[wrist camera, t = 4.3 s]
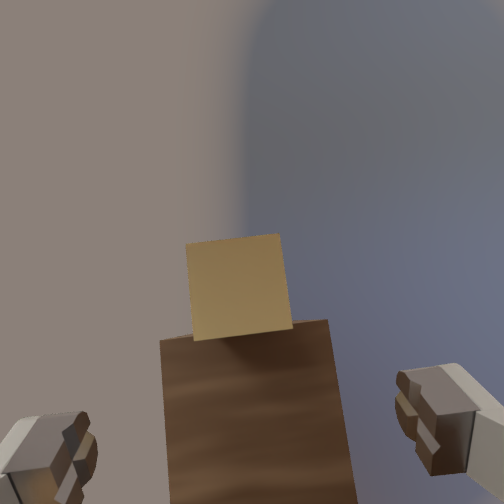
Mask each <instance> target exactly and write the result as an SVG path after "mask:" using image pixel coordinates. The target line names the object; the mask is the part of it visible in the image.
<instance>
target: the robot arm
mask: <svg viewBox="0 0 504 504" xmlns="http://www.w3.org/2000/svg"><path fill="white" fill-rule="evenodd" d="M396 384H397V386H398V387H399V389H400V390H401V391H400V392H399V394H398V395H397V396H396V398H395V409H396V414H397V419H398V421H399V424H400V426H401V428H402V430H403V432H404V433H405V435H406V436H407V437H409V438H410V439H412V440H413V441H415V442H416V450H415V451H416V453H417V455H418V456H419V458H420V460H421V461H422V463H423V465H424V466H425V468H426V469H427V471H428V473H429V474H430V476H437V475H446V474H456V473H466V472H467V475H468V476H469V477H470V478H472V479H473V480H474V481H476V482H477V483H478V484H480V485H481V486H482V487H484V488H485V489H486V490H488V491H489V492H490V493H492V494H493V495H494V496H496V497H497V498H498V499H500V500H501V501H502V502H504V407H503V406H502V405H501V404H500V403H499V402H498V401H497V400H496V399H495V398H493V396H491V395H490V393H488V392H487V391H486V390H485V389H484V388H483V387H482V386H481V385H480V384H479V383H478V382H477V381H476V380H475V379H474V378H473V377H471V375H470V374H469V373H468V372H466V371H465V369H463V368H462V367H461V366H460V365H458V364H456V363H451V364H444V365H438V366H433V367H425V368H418V369H411V370H403V371H399V372H398V374H397V378H396ZM89 425H90V420H89V418H88V415H87V413H86V412H83V411H79V412H70V413H60V414H50V415H43V416H34V417H24V418H22V419H20V420H19V421H17V422H16V423H15V425H14V426H13V428H12V429H11V430H10V431H9V433H8V434H7V436H6V437H5V438H4V440H3V441H2V442H1V444H0V504H82V501H83V499H84V494H83V491H82V487H83V486H84V485H85V484H86V483H87V482H88V481H89V480H90V479H91V478H92V476H93V473H94V470H95V467H96V462H97V456H98V451H97V443H96V439H95V436H93V435H92V434H91V433H89V432H88V431H87V429H88V427H89Z"/></svg>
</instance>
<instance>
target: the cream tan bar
mask: <svg viewBox="0 0 504 504" xmlns="http://www.w3.org/2000/svg"><path fill="white" fill-rule="evenodd" d="M186 255H187V267H188V279H189V290H190V301H191V314H192V324H193V337H194V341H199V340H207V339H215V338H223V337H231V336H239V335H247V334H255V333H263V332H270V331H278V330H286V329H293V325H292V318H291V312H290V304H289V297H288V291H287V284H286V276H285V269H284V263H283V255H282V248H281V241H280V234H279V233H277V234H268V235H259V236H251V237H242V238H233V239H225V240H216V241H207V242H199V243H190V244H186Z"/></svg>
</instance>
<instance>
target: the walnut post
mask: <svg viewBox="0 0 504 504" xmlns="http://www.w3.org/2000/svg"><path fill="white" fill-rule="evenodd" d="M292 325H293V329H286V330H278V331H270V332H263V333H255V334H247V335H239V336H231V337H223V338H215V339H207V340H199V341H194V337H193V334H189V335H184V336H179V337H175V338H170V339H165V340H160V355H161V370H162V385H163V400H164V415H165V429H166V445H167V460H168V475H169V491H170V504H358V502H357V495H356V489H355V483H354V478H353V471H352V466H351V460H350V453H349V447H348V441H347V434H346V428H345V422H344V416H343V410H342V404H341V398H340V392H339V386H338V379H337V374H336V367H335V361H334V355H333V349H332V343H331V337H330V331H329V325H328V320H326V319H325V320H295V321H292Z"/></svg>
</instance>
